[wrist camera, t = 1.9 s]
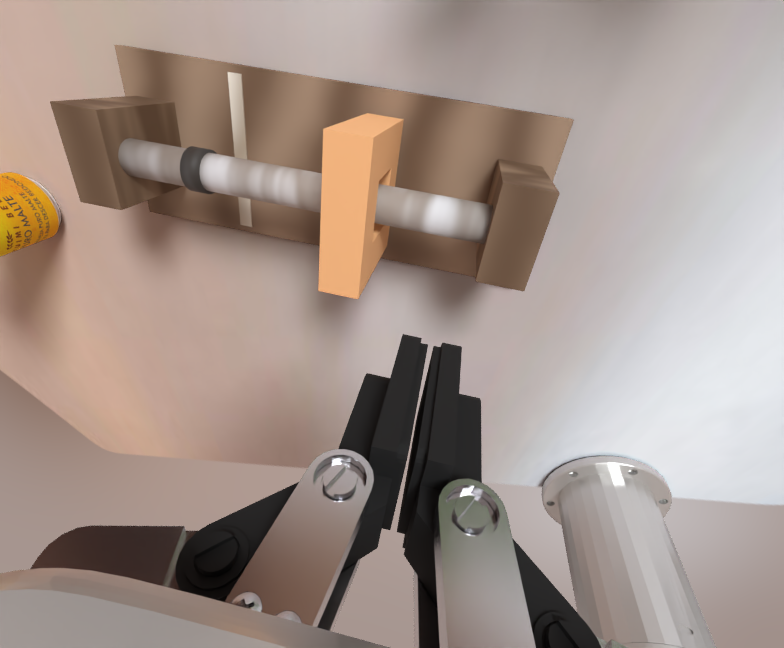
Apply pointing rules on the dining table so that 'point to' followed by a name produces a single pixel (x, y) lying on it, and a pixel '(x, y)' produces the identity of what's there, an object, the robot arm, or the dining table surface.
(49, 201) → the beer can
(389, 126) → the collar
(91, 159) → the pipe stand
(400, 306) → the dining table surface
